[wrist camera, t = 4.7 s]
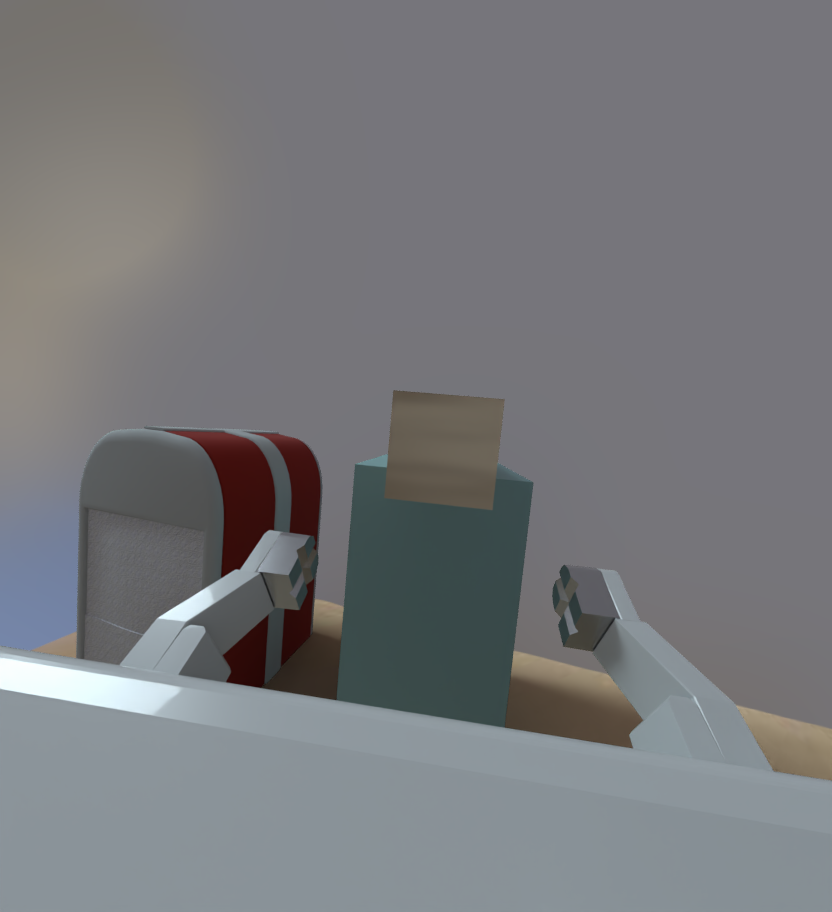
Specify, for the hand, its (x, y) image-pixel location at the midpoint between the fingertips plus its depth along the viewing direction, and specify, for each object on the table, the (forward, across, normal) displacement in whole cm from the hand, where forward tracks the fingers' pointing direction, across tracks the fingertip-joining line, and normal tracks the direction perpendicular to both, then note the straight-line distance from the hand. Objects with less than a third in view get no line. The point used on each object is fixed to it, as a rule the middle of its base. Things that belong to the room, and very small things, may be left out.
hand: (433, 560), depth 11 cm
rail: (+12, 0, +5) cm, 13 cm away
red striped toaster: (+8, +25, +33) cm, 42 cm away
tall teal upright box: (+5, 0, +31) cm, 32 cm away
